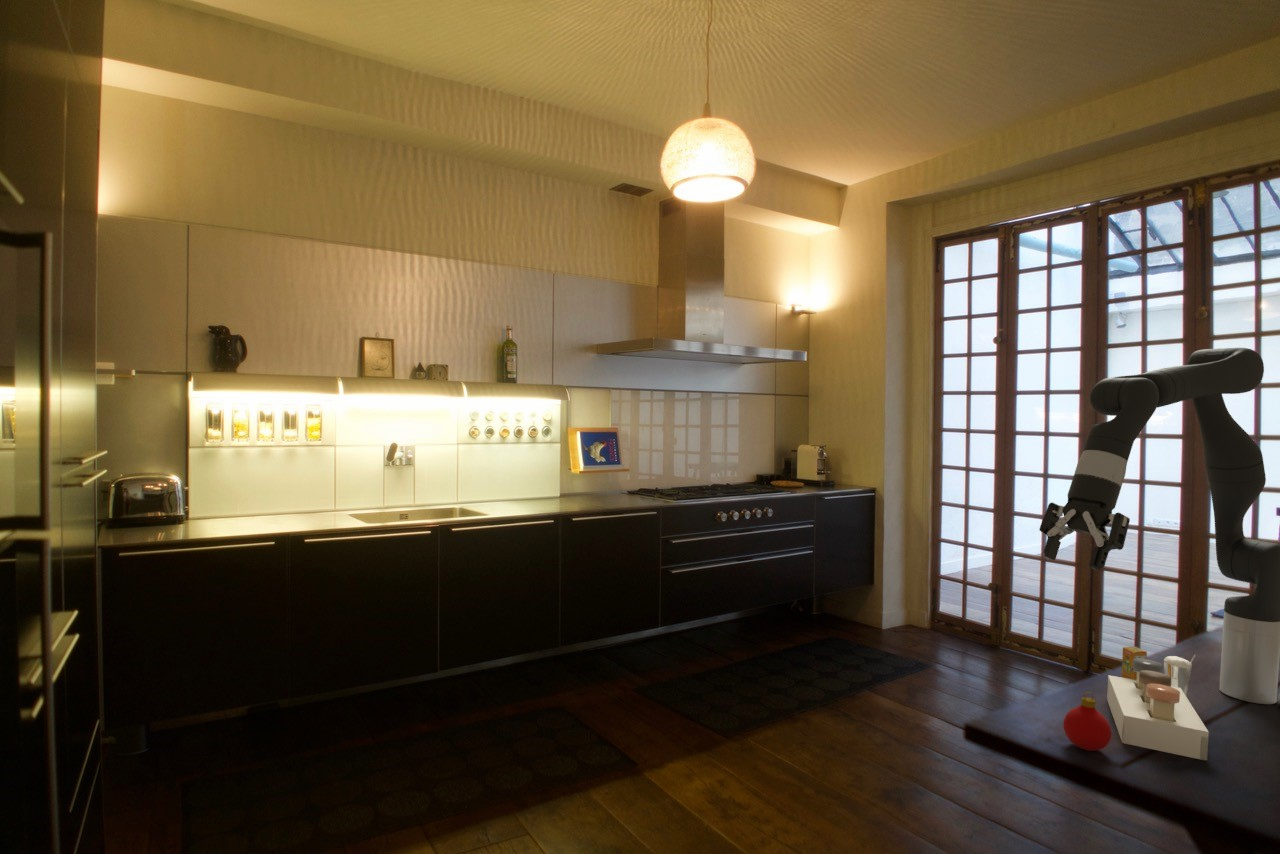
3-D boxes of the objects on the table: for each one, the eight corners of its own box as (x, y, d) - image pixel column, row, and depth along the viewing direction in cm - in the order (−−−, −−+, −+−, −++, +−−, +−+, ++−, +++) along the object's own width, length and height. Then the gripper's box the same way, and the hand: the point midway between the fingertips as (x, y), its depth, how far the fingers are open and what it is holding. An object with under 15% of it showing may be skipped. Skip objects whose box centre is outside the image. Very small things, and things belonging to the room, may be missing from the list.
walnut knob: (1135, 701, 135) (1137, 668, 135) (1166, 706, 133) (1168, 673, 133) (1139, 710, 131) (1141, 676, 131) (1171, 716, 129) (1173, 682, 128)
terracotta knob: (1142, 715, 129) (1144, 681, 128) (1174, 722, 126) (1176, 687, 126) (1146, 726, 124) (1148, 690, 124) (1180, 732, 122) (1182, 696, 122)
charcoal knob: (1129, 687, 142) (1131, 656, 142) (1158, 693, 140) (1160, 661, 139) (1133, 696, 138) (1135, 664, 137) (1163, 701, 135) (1165, 669, 135)
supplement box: (1118, 692, 148) (1121, 645, 148) (1133, 692, 148) (1136, 646, 148) (1130, 699, 145) (1133, 651, 145) (1146, 699, 145) (1149, 651, 145)
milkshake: (1198, 707, 142) (1201, 658, 142) (1168, 704, 143) (1171, 655, 143) (1186, 698, 146) (1189, 651, 146) (1157, 695, 148) (1160, 648, 147)
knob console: (1106, 699, 145) (1108, 675, 144) (1178, 712, 139) (1180, 687, 139) (1122, 742, 125) (1123, 715, 125) (1206, 760, 120) (1208, 731, 119)
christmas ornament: (1093, 739, 126) (1096, 684, 126) (1119, 759, 119) (1123, 701, 119) (1053, 738, 126) (1056, 683, 126) (1078, 757, 119) (1081, 699, 119)
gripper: (1150, 491, 123) (1123, 579, 121) (1073, 482, 136) (1048, 561, 134) (1124, 476, 120) (1097, 566, 118) (1048, 468, 133) (1022, 549, 131)
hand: (1071, 563), depth 126 cm, fingers open, 8 cm apart
